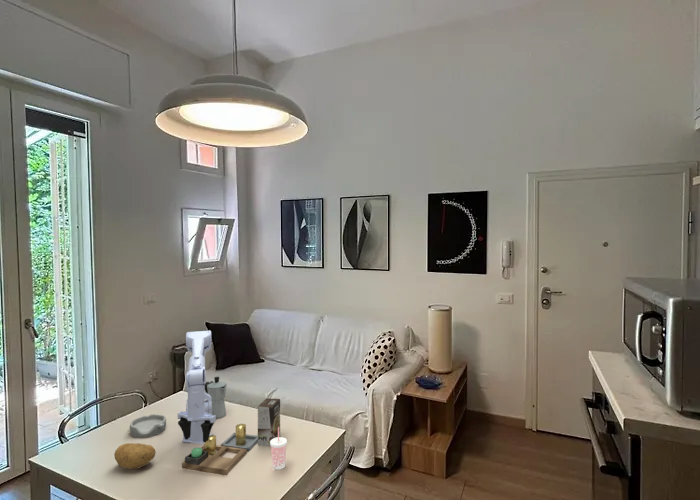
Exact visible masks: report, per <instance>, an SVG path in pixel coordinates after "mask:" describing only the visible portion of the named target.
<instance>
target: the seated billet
mask: <svg viewBox="0 0 700 500" xmlns="http://www.w3.org/2000/svg"><path fill="white" fill-rule="evenodd" d="M204 444H205V451H208V455H212V456H213V455H214V454H215V453H216V452H217V450H216V445H217V435H215V434H213V435H212V434H210V435H209V439H208V441H206V442H204Z"/></svg>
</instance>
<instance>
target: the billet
mask: <svg viewBox="0 0 700 500" xmlns="http://www.w3.org/2000/svg"><path fill="white" fill-rule="evenodd" d="M235 433H236V445H237V446H242V445H245V444H246V434H247V425H246V424H245V423H239V424H236V425H235Z"/></svg>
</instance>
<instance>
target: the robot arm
mask: <svg viewBox="0 0 700 500" xmlns="http://www.w3.org/2000/svg"><path fill="white" fill-rule="evenodd" d="M185 345H186V349H187V352H189V353H191V354H192V355H191V356H190V358H189V360H188V369H187V371H186V373H185V374H186V375H185V384H186V392H187V399H186V404H185V405H186V406H185V411H183V410H182V411H179V412H178V413H177V419H178V422H177V425H178V426H179V427H180V429H181V431H182V434H183V438H182V441H181V442H182V443H188V444H189V443H190V444H191V443H194V444H201V445H202V444H205V442H206V441H208V439H209V435H214V434H213V433H211V432H212V428H213V426H214V424H215V422H216V420H217V419H216V415H211V414H212V401H211V396H210V395H209V394H207V393H206V391H205V383H206V382H207V371H206V354H207V352H208V351H211V348H212V331H211V330H210V329H209V330H201V331H200V330H199V331H187V332H186V333H185Z"/></svg>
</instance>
